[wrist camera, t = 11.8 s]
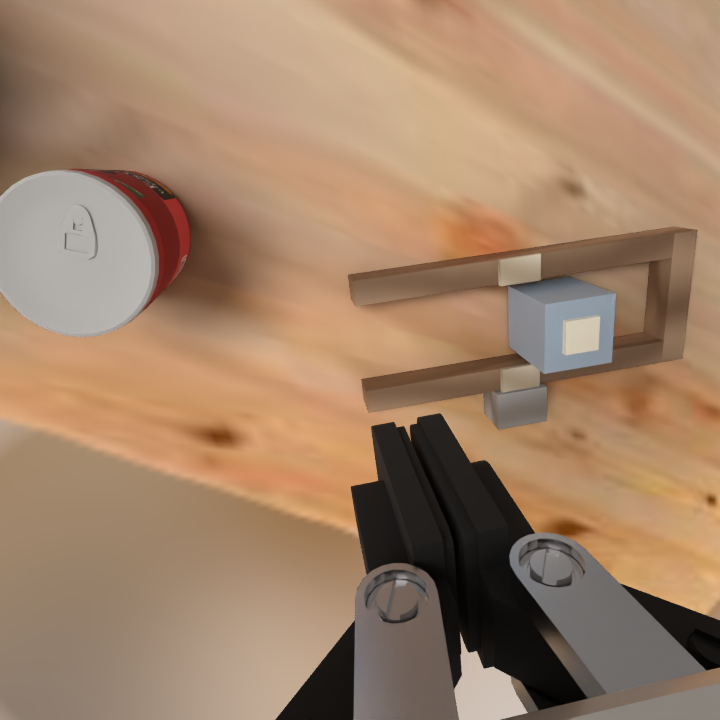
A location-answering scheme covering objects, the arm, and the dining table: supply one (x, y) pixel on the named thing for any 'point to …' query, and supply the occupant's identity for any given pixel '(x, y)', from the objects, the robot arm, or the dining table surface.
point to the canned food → (89, 247)
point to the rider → (561, 323)
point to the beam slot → (512, 372)
